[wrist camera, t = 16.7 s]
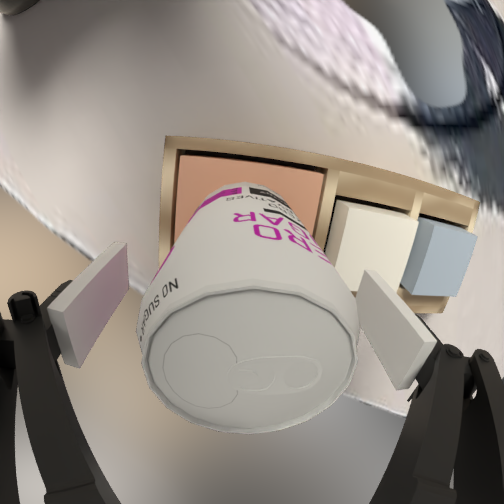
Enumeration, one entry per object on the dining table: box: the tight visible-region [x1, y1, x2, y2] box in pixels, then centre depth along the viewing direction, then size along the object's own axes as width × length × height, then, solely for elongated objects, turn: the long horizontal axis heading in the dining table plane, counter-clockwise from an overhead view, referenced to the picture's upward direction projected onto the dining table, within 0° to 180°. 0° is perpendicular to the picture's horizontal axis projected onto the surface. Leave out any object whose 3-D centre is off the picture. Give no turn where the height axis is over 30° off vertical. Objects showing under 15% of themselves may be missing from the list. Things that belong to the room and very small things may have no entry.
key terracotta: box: [174, 154, 324, 244], centre depth 24 cm, size 11×11×4 cm
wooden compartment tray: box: [159, 136, 480, 313], centre depth 25 cm, size 14×32×4 cm, turn 82°
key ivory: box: [325, 200, 419, 293], centre depth 24 cm, size 7×7×4 cm
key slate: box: [400, 217, 478, 297], centre depth 24 cm, size 7×7×4 cm
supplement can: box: [136, 182, 360, 434], centre depth 15 cm, size 8×8×15 cm
